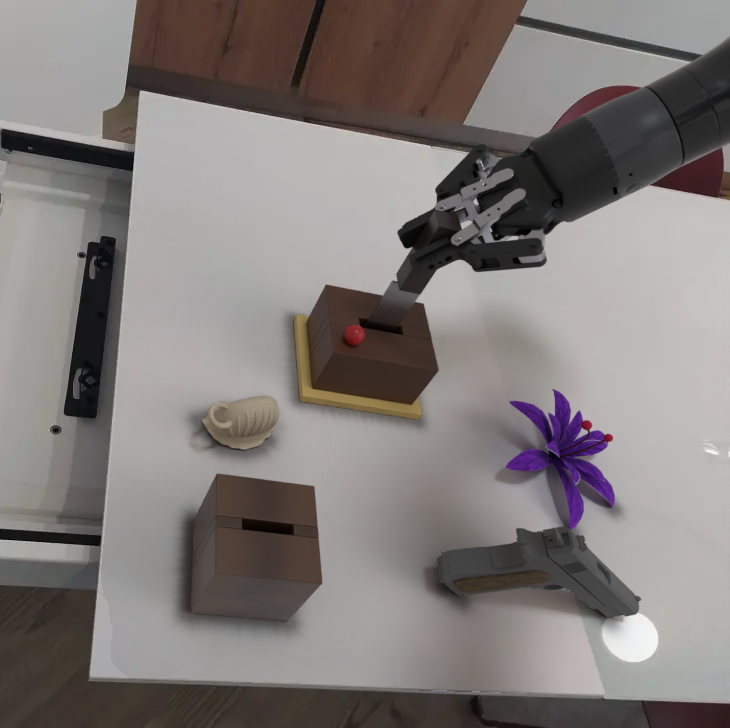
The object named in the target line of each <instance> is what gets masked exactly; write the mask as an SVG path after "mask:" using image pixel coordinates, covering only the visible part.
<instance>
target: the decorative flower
mask: <svg viewBox="0 0 730 728" xmlns="http://www.w3.org/2000/svg"><path fill="white" fill-rule="evenodd" d="M551 390H552V392H553V396H554V414H552V412H547V415H548V417H547V416H546V414H545V412H544V411H543V410H542V409H540V408H539V407H538V406H537V405H535V404H533V403H529V402H526V401H520V400H509V401H508V403H509V404H510V405H511V406H512V407H513V408H515V409H516V410H517V411H519V412H520V413H522V414H523V415H524V416H525V417H526V418H527V419H528V420H529V421H530V422H531V423H533V425H534V426H535V427H537V429H538V430H539V432H540V433H541V434H542V436H543V439H544V440H545V443H546V445H545V449H547V451H545V450H542V449H538V448H528V449H526V450H524V451H523V450H522V451H521V452H520V453H519V454H516V455H515V456H514V457H512V459H510V460H509V461H508V462H507V464H506V466H505V467H504V468H505V469H507V470H509V471H518V472H535V471H536V472H537V471H540V470H543V469H545V468H547V467H549V466H550V465H552V466H553V467H554V469H555V471H556V473H557V474H558V476H559V479H560V481H561V485H562V486H563V491H564V494H565V498H566V502H567V507H568V515H569V525H568V526H569V529H570V530H571V531H573V530H574V529H575V528H576V527H577V526H578V524H579V523H580V522H581V520H582V518H583V515H584V513H585V502H584V499H583V496H582V494H581V492H580V490H579V488H578V486H577V485H578V484H579V483H580V480H582V481H583V482H584V483H586V484H587V485H589V486H590V487H591V488H592V489H594V491H596V493H599V495H601V496H602V497H603V498H604V499H605V500H606V501H607V502H608V503H609V504H610V506H611V507H612V508H614V505H615V501H616V499H615V498H616V497H615V495H616V494H615V492H614V488H613V485H612V484H611V482H609V480H608V479H607V478H606V477H605V476H604V474H603V472H602V471H601V469H599V467H598V466H597V465H595V464H593V463H592V462H590V461H588V460H585V459H583V458H580V457H589V456H594V455H597V454H599V453H601V452H603V451H605V450H606V449H607V448H608V446H609V443H611V442H612V441H613V440H614V436H613V435H612V434H611V433H606V434H605V433H604V432H602V431H601V430H599V429H597V430H591V429H592V427H593V423H592V421H590V420H588V419H583V414H582V412H581V410H577V411H576V413H575V414H574V415H573V417H572V419H571V414H572V409H571V404H570V401H569V400H568V399H567V397H566V396H565V395H564V394H563V393H561V391H559V390H557V389H555V388H552V389H551ZM582 430H584V431H587V433H586V434H583V435H581V436H580V437H579V435H580V433H581V431H582ZM590 430H591V431H590ZM578 457H579V458H578ZM568 472H569V473H570V474H571V476H570V475H569V473H568Z"/></svg>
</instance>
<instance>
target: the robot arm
mask: <svg viewBox="0 0 730 728" xmlns="http://www.w3.org/2000/svg"><path fill="white" fill-rule="evenodd" d="M727 145H730V35H729V36H728V37H727V38H725V39H724V40H723V41H721V42H720V43H718V44H717V45H716V46H714V47H713V48H712V49H710V50H709V51H707V52H705V53H703V54H702V55H700V56H698V57H697V58H695V59H694V60H692V61H691V62H689V63H687V64H685V65H683V66H681V67H679V68H678V69H676V70H674V71H671V72H670V73H669V74H665V75H664V76H662V77H660V78H658V79H656V80H654V81H652V82H650V83H649V84H647V85H644V86H643V87H640V88H638V89H636V90H634V91H631V92H629V93H625V94H622V95H620V96H618V97H615V98H612V99H611V100H608V101H606V102H604V103H602V104H601V105H598V106H596V107H595V108H593V109H591V110H589V111H587V112H585V113H583V114H581V115H579V116H577V117H575V118H574V119H571V120H570V121H568V122H566V123H563V124H562V125H560V126H558V127H555V128H554V129H552V130H550V131H548V132H546V133H544V134H542V135H540V136H538V137H536V138H535V139H533V140H532V141H531V142H530V143H529V145H528V147H527V148H526V149H525V150H523V151H522V152H521V153H516V154H511V155H505V156H504V157H502V158H500V157H499V156H498V157H497V156H496V155H493V154H491V153H490V152H489V151H488V147H487V145H486V144H483V143H480V144H477V145H475V146H474V147H473V148H471V150H470V151H469V152H468V153H467V154H466V156H465V157H463V159H462V160H460V162H459V163H457V164H456V166H455V167H454V168H453V169H452V170H451V171H450V172H449V173H448V174H447V175H446V176H445V177H444V178H443V179H441V181H440V182H439V184H437V185H436V186H435V189H434V193H435V194H436V204H435V205H434V207H433V208H431V209H430V210H428V211H426V212H424V213H422V214H420V215H418V216H416V217H414V218H412V219H410V220H408V221H406V222H405V223H403V225H402V226H401V228H399V229H398V230H397V234H396V235H397V236H398V239H399V241H400V242H401V245H402V247H403V248H404V249H407V250H409V249H412V247H413V245H414V244H415V242H416V240H417V239H418V237H419V236H420V234H421V232H422V231H423V229H424V227H425V226H426V224H427V222H428V221H429V219H430V217H431V216H432V214H433V213H434V211H435V210H440V211H444V212H448V213H453V214H457V215H458V217H459V220H460V224H462V223H465V222H468V221H469V222H471V223H469V225H467V226H465V227H464V228H462V230H461V231H459V232H457V233H456V234H454V235H453V236H452V237H451V240H448V238H447V237H445V238H442V239H440V240H438V241H436V242H434V243H432V244H430V245H428V246H426V247H424V248H422V249H420V250H418V251H416V252H414V253H412V254H410V255H409V257H408V260H409V262H410V264H411V266H412V268H413V270H414V272H415V273H416V274H421V273H423V274H428V273H431V272H433V271H435V270H437V271H438V270H439V269H441V268H443V267H445V266H447V265H450V264H452V263H454V262H456V261H464V262H465V263H466V264H468V265H469V266H470V267H471V268H472V270H473V272H475V273H486V272H495V271H498V272H499V271H507V270H509V271H510V270H521V269H533V268H541V267H543V266H545V265H546V264H547V262H548V259H547V258H548V257H547V254H546V250H545V244H546V243H545V242H546V236H547V235H549V234H551V232H553V230H554V229H555V228H556V227H557V226H558V225H559V224H561V223H564V222H565V223H572V222H575V221H577V220H579V219H581V218H584V217H585V216H587V215H590V214H591V213H594V212H596V211H598V210H600V209H602V208H605V207H606V206H608V205H611V204H613V203H615V202H617V201H620V200H621V199H624V198H625V197H628V196H630V195H632V194H634V193H635V192H638V191H640V190H643V189H644V188H646V187H649V186H650V185H652V184H654V183H656V182H658V181H660V180H661V179H662V178H664V177H665V176H667V175H669V174H671V173H672V172H674V171H676V170H678V169H680V168H681V167H684V166H685V165H688V164H690V163H692V162H694V161H696V160H699V159H701V158H703V157H705V156H707V155H709V154H711V153H713V152H715V151H718V150H720V149H721V148H724V147H725V146H727ZM475 200H476V202H477V204H475ZM512 237H517V239H511V238H512ZM510 239H511V240H510Z"/></svg>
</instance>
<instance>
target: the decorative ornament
mask: <svg viewBox="0 0 730 728" xmlns="http://www.w3.org/2000/svg"><path fill="white" fill-rule="evenodd" d="M279 417H280V410H279V406H278V402H277V401H276V399H275V398H274V397H273V396H270V395H259V396H251V397H245V398H240V399H237V400H233V401H230V402H224V401H216V402H213V403H212V404H210V406H209V407H208V410H207V416H206V417H205V418H203V419H201V422H202V424H203V425H204V427H205V429H206V431H207V432H208V433H209V434H210V436H211V437H212V438H213V440H215V441H217V442H218V443H220V444H221V445H222V446H228V447H229V448H231V449H239V450H242V451H247V450H249V449H252V448H256V447H259V446H261V445H263V443H264V441H265V440H266V439H267V438H270V437H271V434H272V432H273V431H274V430H275V428H276V425H277V423H278V421H279Z"/></svg>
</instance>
